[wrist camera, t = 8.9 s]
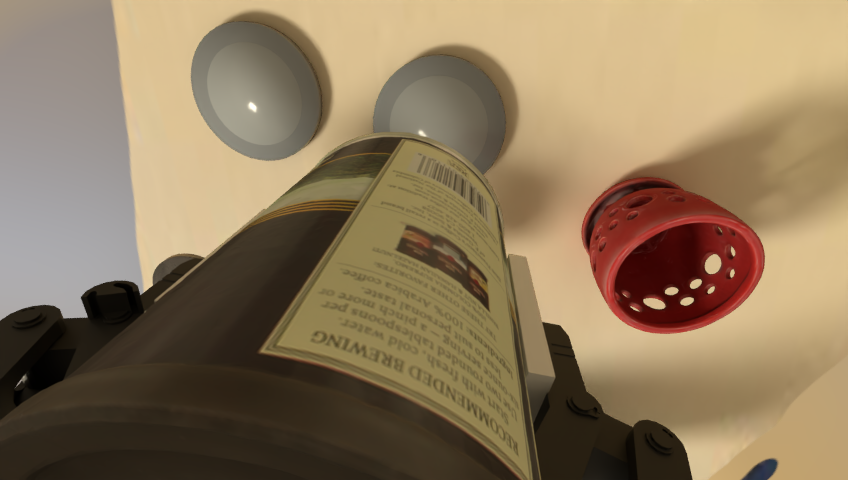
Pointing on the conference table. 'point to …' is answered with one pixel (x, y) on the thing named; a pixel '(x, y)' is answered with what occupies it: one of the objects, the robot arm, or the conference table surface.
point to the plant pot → (668, 255)
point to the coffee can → (313, 344)
